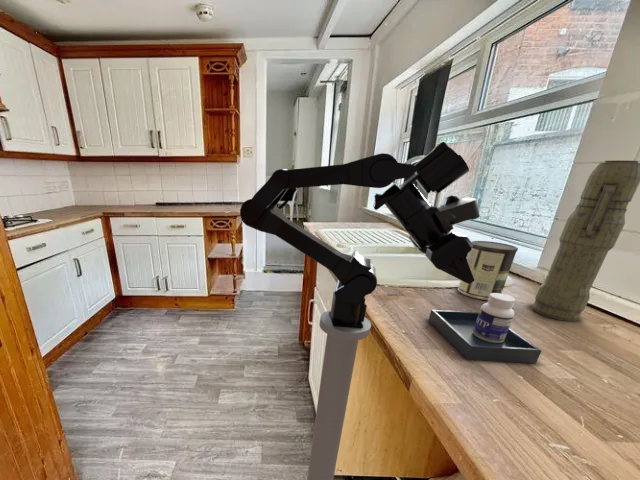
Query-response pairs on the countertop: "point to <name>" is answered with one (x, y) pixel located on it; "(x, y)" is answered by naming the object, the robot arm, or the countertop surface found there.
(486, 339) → the pill bottle
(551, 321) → the countertop surface
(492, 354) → the tray
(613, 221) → the stone statue
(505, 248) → the coffee can
